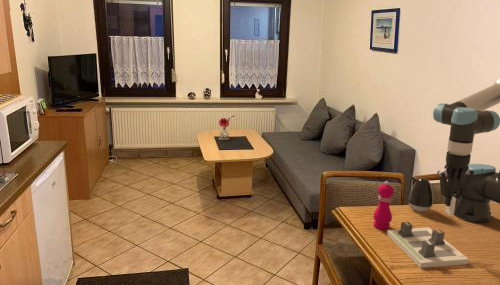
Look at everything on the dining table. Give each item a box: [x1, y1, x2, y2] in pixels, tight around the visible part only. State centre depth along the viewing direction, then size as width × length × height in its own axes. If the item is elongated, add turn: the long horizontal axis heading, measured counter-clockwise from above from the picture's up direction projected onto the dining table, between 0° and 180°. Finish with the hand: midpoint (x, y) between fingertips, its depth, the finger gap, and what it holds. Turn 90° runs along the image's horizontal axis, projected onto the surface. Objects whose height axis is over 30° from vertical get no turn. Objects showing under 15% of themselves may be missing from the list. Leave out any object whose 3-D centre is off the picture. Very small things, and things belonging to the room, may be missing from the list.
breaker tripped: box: [429, 228, 446, 245], centre depth 146 cm, size 4×3×5 cm
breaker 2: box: [419, 240, 436, 257], centre depth 138 cm, size 4×3×5 cm
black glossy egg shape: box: [407, 176, 434, 213], centre depth 177 cm, size 10×10×15 cm
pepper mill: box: [372, 180, 395, 231], centre depth 160 cm, size 7×7×20 cm
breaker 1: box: [398, 221, 414, 237], centre depth 152 cm, size 4×3×5 cm
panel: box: [386, 226, 469, 269], centre depth 147 cm, size 18×23×2 cm
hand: (449, 213), depth 145 cm, fingers closed
